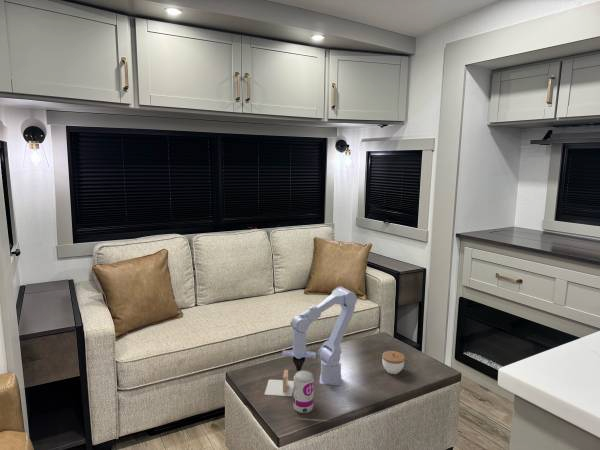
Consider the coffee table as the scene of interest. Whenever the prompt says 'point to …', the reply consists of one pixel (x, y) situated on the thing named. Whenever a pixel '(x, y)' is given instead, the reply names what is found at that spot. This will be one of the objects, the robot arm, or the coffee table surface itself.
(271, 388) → the mat
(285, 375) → the tile
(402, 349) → the coffee table surface
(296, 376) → the supplement can
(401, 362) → the lidded jar
